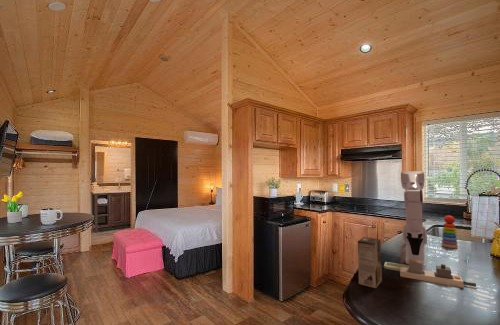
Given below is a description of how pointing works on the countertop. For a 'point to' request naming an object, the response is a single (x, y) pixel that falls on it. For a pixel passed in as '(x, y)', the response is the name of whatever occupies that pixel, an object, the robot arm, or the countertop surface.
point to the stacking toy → (449, 233)
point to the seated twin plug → (443, 271)
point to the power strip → (435, 278)
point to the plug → (415, 266)
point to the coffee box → (369, 262)
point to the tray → (394, 266)
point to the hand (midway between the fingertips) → (415, 252)
